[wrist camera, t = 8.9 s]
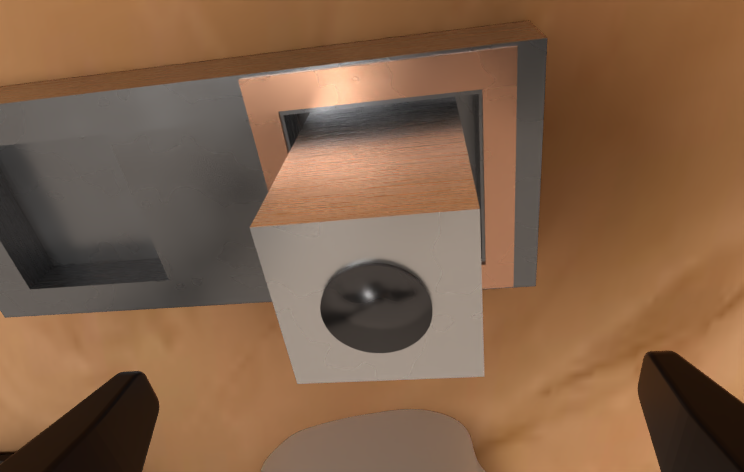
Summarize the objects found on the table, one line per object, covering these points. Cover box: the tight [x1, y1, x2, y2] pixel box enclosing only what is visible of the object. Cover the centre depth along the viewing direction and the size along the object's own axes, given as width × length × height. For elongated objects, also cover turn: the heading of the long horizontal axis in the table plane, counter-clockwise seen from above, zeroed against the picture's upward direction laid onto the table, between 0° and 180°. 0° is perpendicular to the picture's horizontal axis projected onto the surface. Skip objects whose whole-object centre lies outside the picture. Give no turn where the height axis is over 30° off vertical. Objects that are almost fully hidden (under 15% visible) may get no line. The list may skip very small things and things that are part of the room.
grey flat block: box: [0, 21, 547, 317], centre depth 17 cm, size 20×8×3 cm, turn 97°
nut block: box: [250, 97, 484, 384], centre depth 14 cm, size 4×4×7 cm
